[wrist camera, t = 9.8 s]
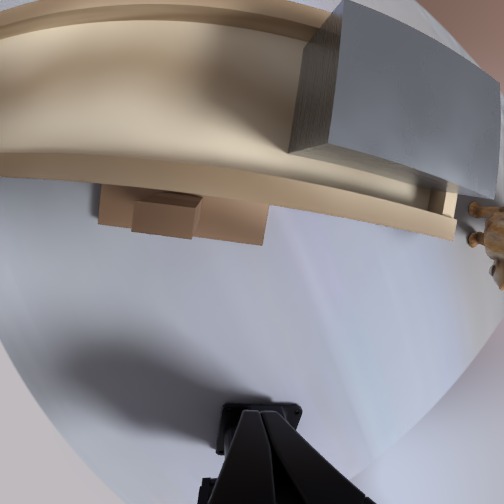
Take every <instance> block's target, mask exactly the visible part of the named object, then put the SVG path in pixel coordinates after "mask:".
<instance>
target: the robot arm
mask: <svg viewBox="0 0 504 504" xmlns="http://www.w3.org/2000/svg"><path fill="white" fill-rule="evenodd" d="M226 409H230V410H226ZM295 411H296V412H295ZM301 415H302V408H301V407H300V406H298V405H251V404H233V403H226V404H224V405H223V406H222V410H221V417H220V423H219V430H218V436H217V443H216V454H218V455H225V461H224V463H223V466H222V469H221V471H220V474H219V476H218V478H212V479H211V478H203V479H202V486H200V489H199V496H198V503H197V504H376V503H375V502H374V501H372V500H371V499H370V498H369V497H365V494H364V493H363V492H362V491H360V490H359V489H358V488H357V487H356V486H355V485H353V484H352V483H351V482H350V481H349V480H348V479H347V478H345V477H344V476H343V475H342V474H341V473H340V472H339V471H338V470H337V469H335V468H334V467H333V466H332V465H331V464H330V463H329V462H328V461H327V460H326V459H325V458H324V457H323V456H321V455H320V454H319V453H318V452H317V451H316V450H315V449H314V448H313V447H312V446H311V445H310V444H309V443H308V442H307V441H306V440H305V439H304V438H303V437H302V436H301V435H300V434H299V433H298V432H297V431H296V429H297V426H298V423H299V421H300V418H301ZM221 450H222V451H221Z"/></svg>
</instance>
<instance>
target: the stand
mask: <svg viewBox="0 0 504 504" xmlns="http://www.w3.org/2000/svg"><path fill="white" fill-rule="evenodd" d="M268 210H269V205H268V204H262V203H255V202H249V201H242V200H235V199H229V198H221V197H214V196H207V195H199V194H192V193H184V192H176V191H168V190H159V189H150V188H141V187H132V186H122V185H112V184H101V193H100V204H99V216H98V224H101V225H109V226H117V227H125V228H132V230H131V232H139V233H146V234H154V235H162V236H169V237H177V238H184V239H192V237H193V236H194V237H201V238H209V239H216V240H224V241H231V242H238V243H246V244H253V245H260V246H262V245H263V239H264V233H265V227H266V221H267V216H268Z"/></svg>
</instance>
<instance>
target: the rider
mask: <svg viewBox="0 0 504 504" xmlns="http://www.w3.org/2000/svg"><path fill="white" fill-rule="evenodd" d="M500 122H501V111H500V83H499V82H497V81H496V80H495V79H493V78H492V77H491V76H489V75H488V74H487V73H485V72H484V71H483V70H481V69H480V68H479V67H477V66H476V65H474V64H473V63H471V62H470V61H468V60H467V59H465V58H464V57H462V56H461V55H459V54H458V53H456V52H455V51H453V50H451V49H450V48H448V47H447V46H445V45H443V44H442V43H440V42H438V41H436V40H435V39H433V38H431V37H429V36H427V35H426V34H424V33H422V32H420V31H418V30H416V29H414V28H412V27H410V26H408V25H406V24H404V23H402V22H400V21H398V20H396V19H394V18H392V17H389V16H387V15H385V14H383V13H380V12H378V11H376V10H373V9H371V8H368V7H366V6H363V5H361V4H358V3H355V2H353V1H350V0H342V1H341V2H340V4H339V5H338V6H337V7H336V8H335V9H334V11H333V12H332V13H331V14H330V16H329V17H328V18H327V19H326V20H325V22H324V23H323V24H322V25H321V27H320V28H319V29H318V30H317V32H316V33H315V34H314V35H313V37H312V38H311V39H310V41H309V42H308V43H307V44H306V46H305V47H304V48H303V55H302V62H301V69H300V76H299V83H298V89H297V96H296V102H295V109H294V116H293V122H292V128H291V135H290V141H289V147H288V154H290V155H295V156H300V157H305V158H310V159H314V160H319V161H323V162H328V163H332V164H336V165H341V166H345V167H349V168H353V169H357V170H361V171H365V172H368V173H372V174H376V175H379V176H383V177H387V178H390V179H394V180H397V181H400V182H404V183H407V184H410V185H414V186H417V187H420V188H423V189H427V190H434V191H442V192H449V193H455V194H462V195H468V196H474V197H480V198H486V199H492V200H494V199H495V191H496V183H497V174H498V164H499V150H500Z"/></svg>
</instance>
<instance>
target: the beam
mask: <svg viewBox="0 0 504 504" xmlns="http://www.w3.org/2000/svg"><path fill="white" fill-rule="evenodd" d="M330 14H331V12H327V11H324V10H321V9H317V8H314V7H310V6H307V5H303V4H299V3H295V2H291V1H287V0H39V1H35V2H31V3H27V4H24V5H20V6H17V7H14V8H10V9H7V10H4V11H1V12H0V177H13V178H33V179H49V180H64V181H77V182H89V183H101V184H112V185H122V186H132V187H141V188H150V189H159V190H168V191H176V192H184V193H192V194H199V195H207V196H214V197H221V198H229V199H235V200H242V201H249V202H255V203H262V204H268V205H274V206H281V207H287V208H293V209H298V210H304V211H310V212H316V213H321V214H327V215H332V216H337V217H343V218H348V219H353V220H358V221H363V222H368V223H373V224H378V225H383V226H388V227H393V228H397V229H402V230H407V231H411V232H416V233H420V234H425V235H429V236H433V237H438V238H442V239H446V240H450V241H453V239H454V234H455V229H456V224H457V220H456V219H453V218H454V213H455V207H456V201H457V195H458V194H455V193H449V192H442V191H434V190H427V189H423V188H420V187H417V186H414V185H410V184H407V183H404V182H400V181H397V180H394V179H390V178H387V177H383V176H379V175H376V174H372V173H368V172H365V171H361V170H357V169H353V168H349V167H345V166H341V165H336V164H332V163H328V162H323V161H319V160H314V159H310V158H305V157H300V156H295V155H290V154H288V147H289V141H290V135H291V128H292V122H293V116H294V109H295V102H296V96H297V89H298V83H299V76H300V69H301V62H302V55H303V48H304V47H305V46H306V44H307V43H308V42H309V41H310V39H311V38H312V37H313V35H314V34H315V33H316V32H317V30H318V29H319V28H320V27H321V25H322V24H323V23H324V22H325V20H326V19H327V18H328V17H329V16H330Z"/></svg>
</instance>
